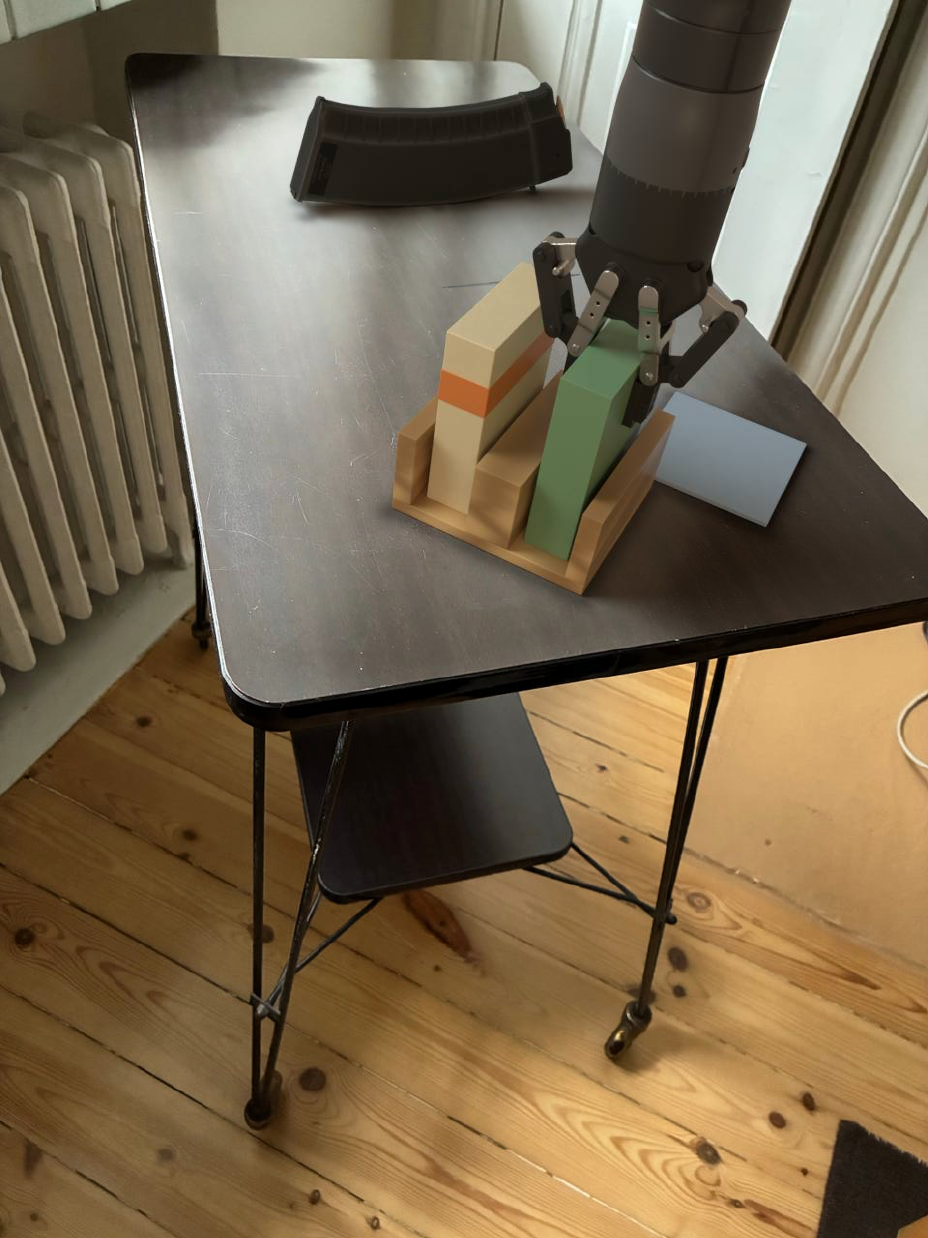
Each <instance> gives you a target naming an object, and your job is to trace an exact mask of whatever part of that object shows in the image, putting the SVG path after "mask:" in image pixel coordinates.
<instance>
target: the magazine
mask: <svg viewBox="0 0 928 1238" xmlns="http://www.w3.org/2000/svg"><path fill="white" fill-rule="evenodd" d="M554 96H555V95H554V90H553V87H552V85H550V84H549V83H548V82H547V81H542V82H540V83H539V86H538V87H537V88H534V89H531V90H525V91H518V93H515V94H512V95H507V96H503V97H498V98H493V99H489V100H484V101H479V102H475V103H474V102H473V103H465V104H457V105H448V106H433V107H432V106H431V107H401V106H398V107H394V106H393V107H392V106H391V107H390V106H389V107H387V106H386V107H383V106H381V107H379V106H377V107H376V106H375V107H374V106H363V105H355V104H349V103H342V102H338V101H334V100H330V99H326V98H325V96H321V95H317V96H316V98H315V100H314V104H313V108H312V109H311V111H310V113H309V114H308V117H307V120H306V124H305V128H304V131H303V134H302V139H301V142H300V146H299V149H298V152H297V153H298V154H297V157H296V161H295V165H294V167H293V172H292V175H291V179H290V183H289V192H290V195H291V196H292V198H293V200H294V201H295V200H296V202H297V203H303V202H313V203H314V202H315V203H329V204H340V205H341V204H342V205H355V206H369V207H422V206H436V205H449V204H456V203H464V202H470V201H475V200H482V199H485V198H489V197H490V198H491V197H495V196H498V195H503V194H508V193H511V192H515V191H519V190H524V189H528V188H529V190H530V191H531V192H532V193H533V194H534V195H535V194H537V187H536V186H539V185H542V184H545V183H547V182H550V181H553V180H557V179H559V178H561V177H564V176H567V175H569V174H570V173H571V172H572V171H573V169H574V163H573V149H572V135H571V131H570V129H569V128H567V122H566V117H565V111H564V106H563V103H562V100H561V96H560V95H557V96H556V101H555V97H554Z"/></svg>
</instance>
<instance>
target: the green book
mask: <svg viewBox="0 0 928 1238" xmlns="http://www.w3.org/2000/svg"><path fill="white" fill-rule="evenodd" d="M638 331H639V330H637V329H635V328H633V327H632V326H630V325H629V324H628V323H626V322H625V321H621V320H612V319H609V321H608V323H607V324H606V325H604V326H603V328H602V330H601V332H600V333H599V334H598V335H597V337H596V338H595V339H594V340H593V341H592V342H591V343H590V345H589V346H588V347H587V348H586V349H585V350H584V352H583V353H582V354H581V355H580V356H579V357H578V359H577V360H576V361H575V362H574V363H573V364H572V365H571V367H570V368H569V369H568V370H567V371H566V372H565V374H564V375H563V376H562V377H561V378H560V382H559V387H558V391H557V396H556V400H555V404H554V409H553V413H552V417H551V422H550V426H549V431H548V435H547V439H546V444H545V448H544V452H543V457H542V461H541V466H540V470H539V474H538V479H537V483H536V488H535V492H534V496H533V501H532V505H531V509H530V514H529V518H528V523H527V527H526V531H525V536H524V540H523V541H524V542H526V543H528V544H530V545H532V546H535V547H537V548H539V549H541V550H543V551H546V552H548V553H550V554H552V555H554V556H557V557H559V558H561V559H563V560H565V561H567V560H568V559H569V557H570V556H571V554H572V550H573V547H574V543H575V540H576V536H577V533H578V529H579V526H580V522H581V519H582V515H583V513H584V512H585V510H586V509H587V508H588V506H589V505H590V503H591V502H592V500H593V499H594V498H595V496H596V495H597V493H598V492H599V491H600V489H601V488H602V486H603V485H604V484H605V482H606V481H607V479H608V478H609V476H610V475H611V474H612V472H613V471H614V469H615V468H616V467H617V465H618V464H619V462H620V461H621V459H622V458H623V457H624V455H625V454H626V452H627V451H628V450H629V448H630V447H631V445H632V444H633V442H634V441H635V440H636V438H637V437H638V435H639V434H640V433H639V432H640V429H641V426H642V423H641V424H640V423H637V422H636V423H635V424H634V426H633V427H632V428H628V427H626V426H623V425H622V420H623V417H624V414H625V410H626V407H627V404H628V400H629V397H630V393H631V390H632V387H633V383H634V381H635V379H636V378H637V377H638V376H639V370H640V352H639V351H638Z"/></svg>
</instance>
